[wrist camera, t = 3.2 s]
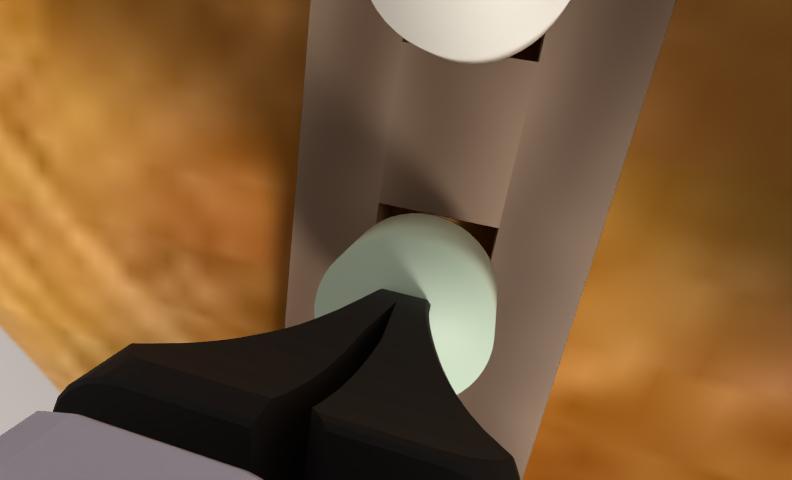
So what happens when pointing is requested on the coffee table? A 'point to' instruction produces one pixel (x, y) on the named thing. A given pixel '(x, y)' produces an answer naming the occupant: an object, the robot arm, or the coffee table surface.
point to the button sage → (424, 285)
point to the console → (476, 169)
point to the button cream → (471, 25)
